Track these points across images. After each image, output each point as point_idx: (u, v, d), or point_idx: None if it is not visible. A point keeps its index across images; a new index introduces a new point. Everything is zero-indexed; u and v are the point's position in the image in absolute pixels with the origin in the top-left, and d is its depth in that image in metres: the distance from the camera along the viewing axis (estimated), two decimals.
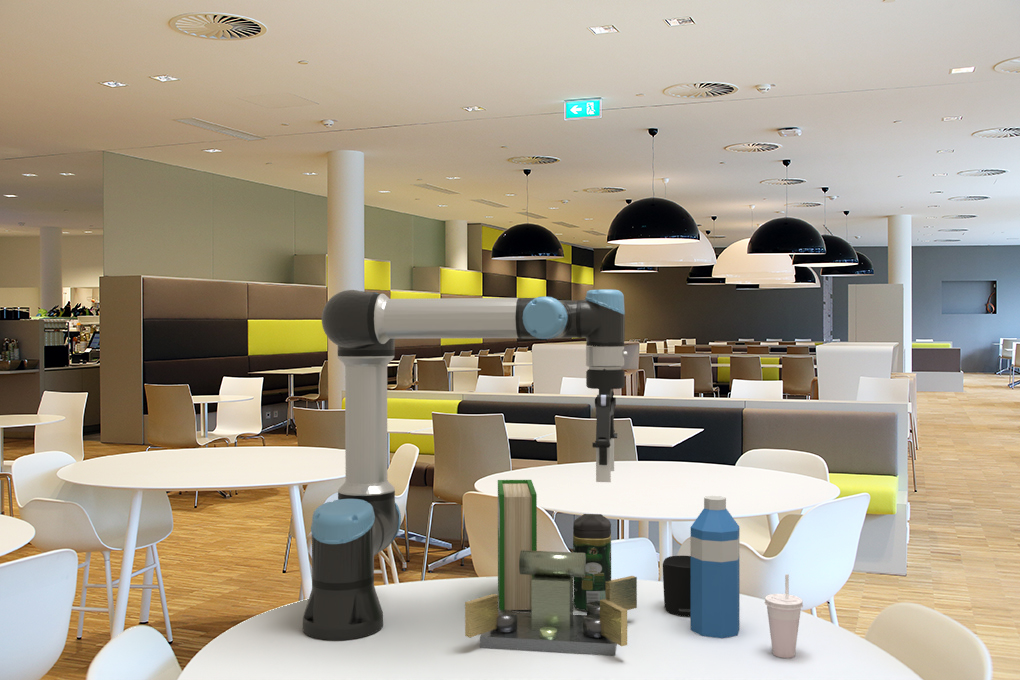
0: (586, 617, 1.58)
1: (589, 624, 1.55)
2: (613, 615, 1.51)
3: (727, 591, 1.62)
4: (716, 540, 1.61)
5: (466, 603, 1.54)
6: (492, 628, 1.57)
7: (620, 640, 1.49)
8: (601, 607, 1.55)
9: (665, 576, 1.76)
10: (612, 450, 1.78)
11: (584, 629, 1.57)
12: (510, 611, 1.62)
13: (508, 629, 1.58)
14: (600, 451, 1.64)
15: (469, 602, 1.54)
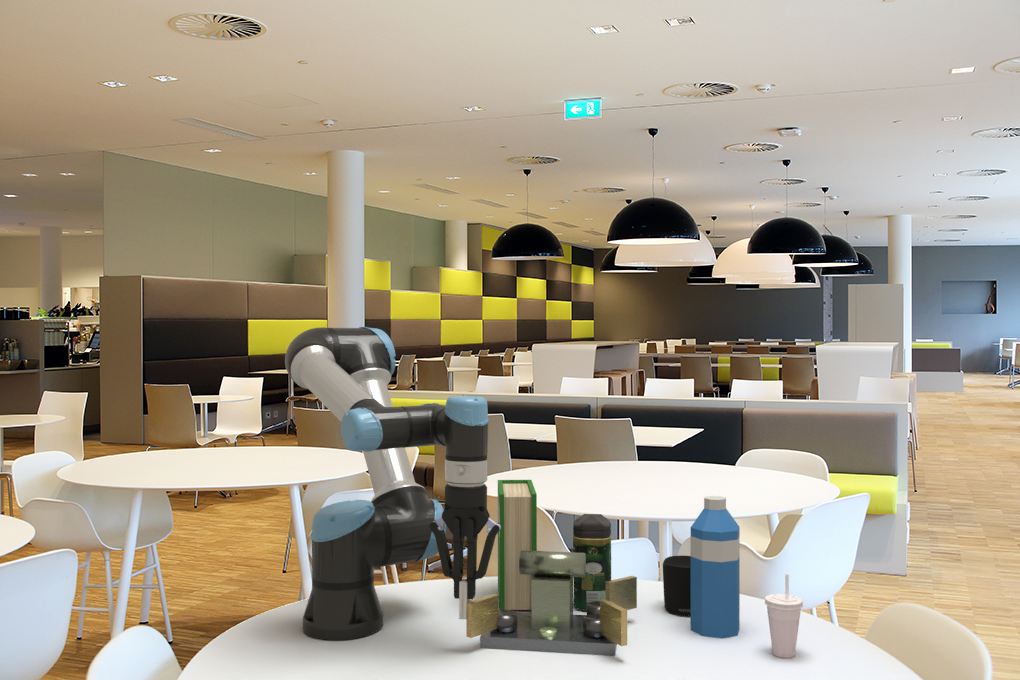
0: (586, 617, 1.58)
1: (589, 624, 1.55)
2: (613, 615, 1.51)
3: (727, 591, 1.62)
4: (716, 540, 1.61)
5: (467, 604, 1.54)
6: (493, 628, 1.57)
7: (620, 640, 1.49)
8: (601, 607, 1.55)
9: (665, 576, 1.76)
10: None
11: (584, 629, 1.57)
12: (510, 611, 1.62)
13: (508, 629, 1.58)
14: None
15: (470, 602, 1.54)
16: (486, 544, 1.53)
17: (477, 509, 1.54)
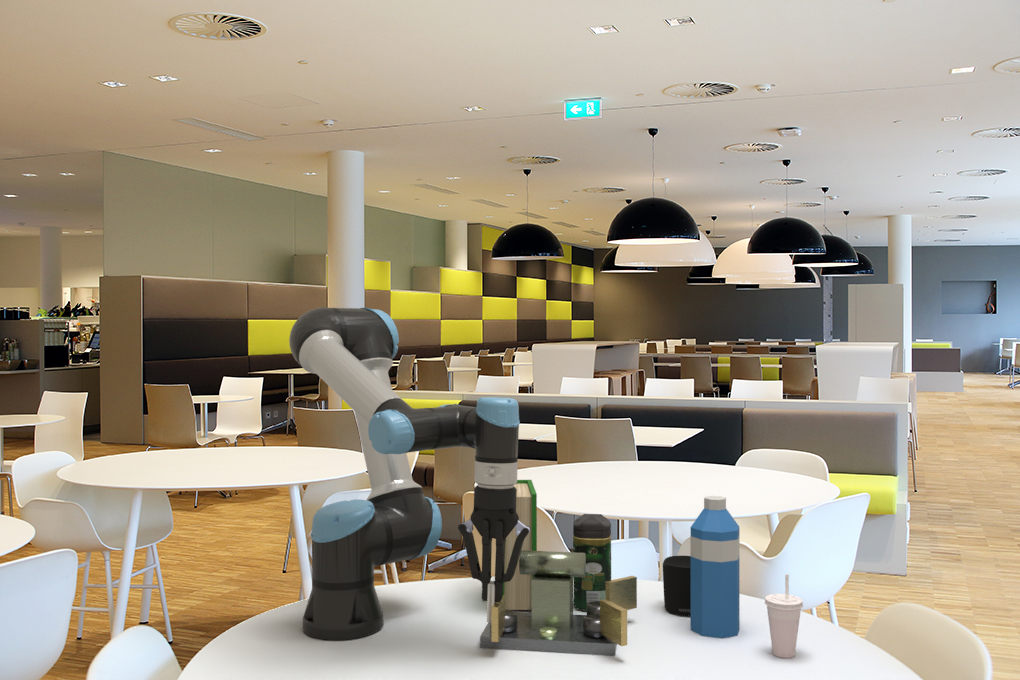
0: (586, 617, 1.58)
1: (589, 624, 1.55)
2: (613, 615, 1.51)
3: (727, 591, 1.62)
4: (716, 540, 1.61)
5: (492, 608, 1.51)
6: (503, 629, 1.57)
7: (620, 640, 1.49)
8: (601, 607, 1.55)
9: (665, 576, 1.76)
10: None
11: (584, 629, 1.57)
12: (505, 610, 1.62)
13: (515, 627, 1.59)
14: None
15: (495, 606, 1.52)
16: (515, 547, 1.52)
17: (507, 511, 1.53)
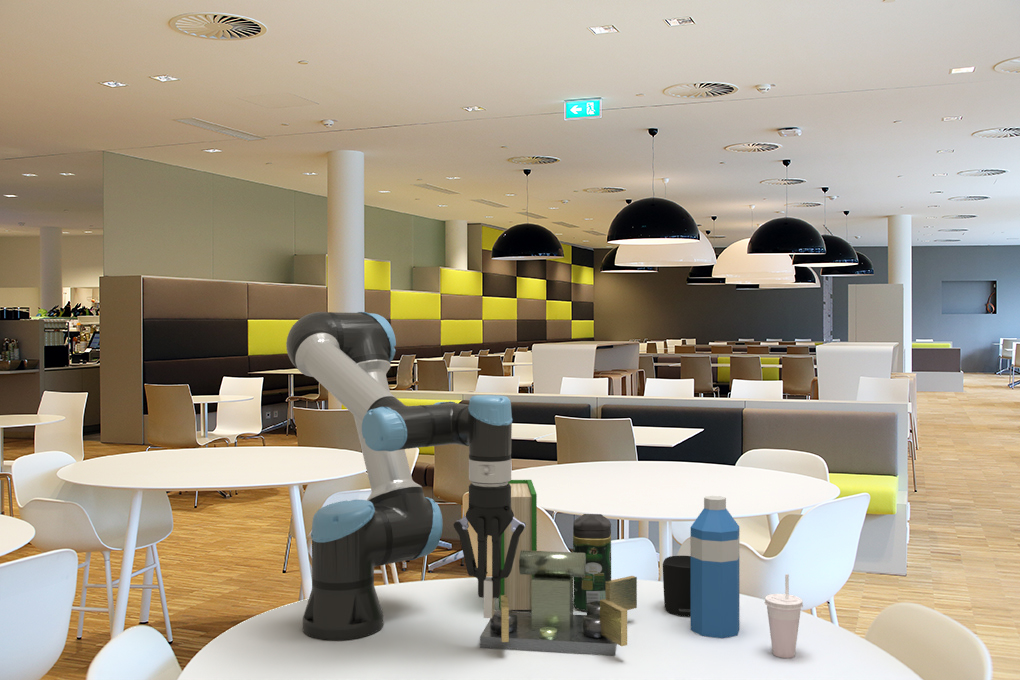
0: (586, 617, 1.58)
1: (589, 624, 1.55)
2: (613, 615, 1.51)
3: (727, 591, 1.62)
4: (716, 540, 1.61)
5: (503, 608, 1.51)
6: None
7: (620, 640, 1.49)
8: (601, 607, 1.55)
9: (665, 576, 1.76)
10: None
11: (584, 629, 1.57)
12: None
13: (516, 626, 1.59)
14: None
15: (505, 606, 1.52)
16: (511, 543, 1.53)
17: (501, 508, 1.54)
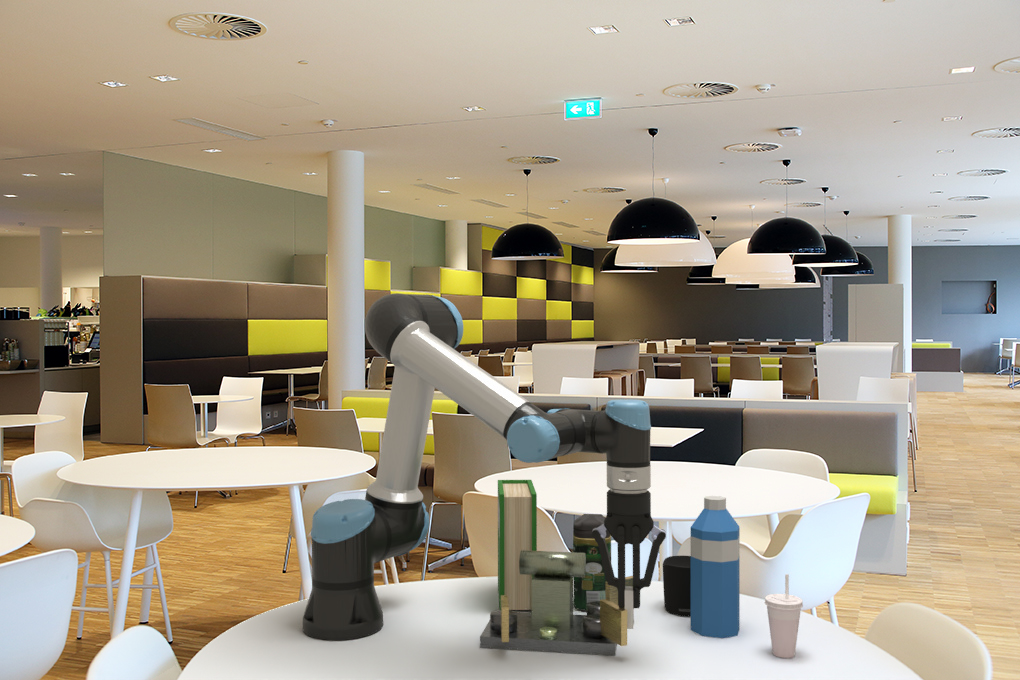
0: (586, 617, 1.58)
1: (589, 624, 1.55)
2: (613, 615, 1.51)
3: (727, 591, 1.62)
4: (716, 540, 1.61)
5: (503, 608, 1.51)
6: None
7: (620, 640, 1.49)
8: (601, 607, 1.55)
9: (665, 576, 1.76)
10: None
11: (584, 629, 1.57)
12: None
13: (516, 626, 1.59)
14: None
15: (505, 606, 1.52)
16: (653, 551, 1.49)
17: (642, 516, 1.49)
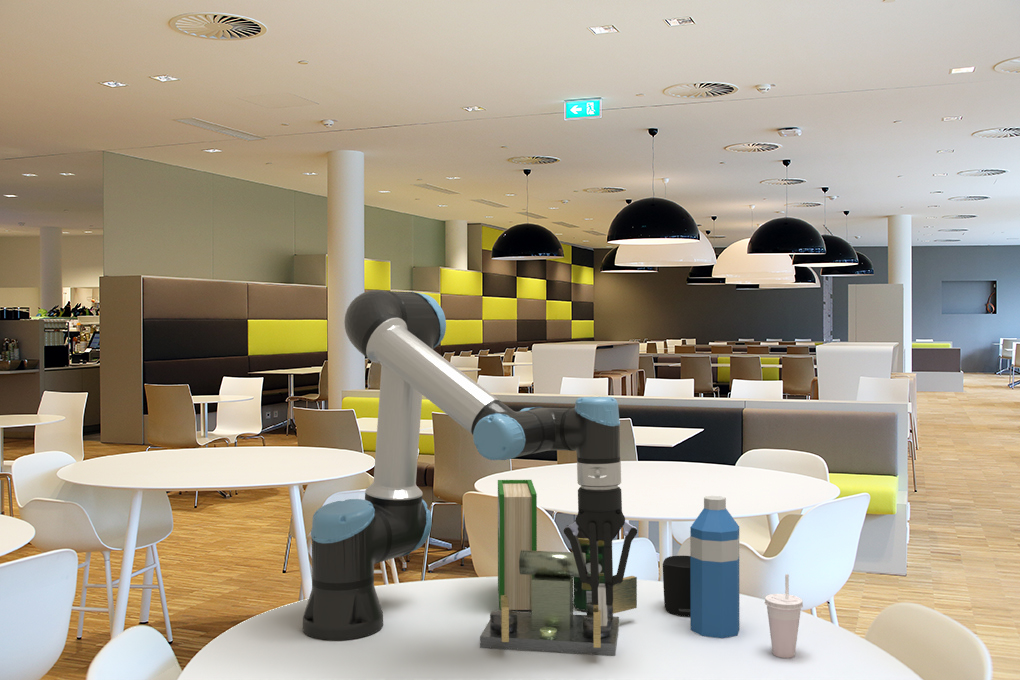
0: (589, 616, 1.59)
1: (584, 622, 1.56)
2: None
3: (727, 591, 1.62)
4: (716, 540, 1.61)
5: (503, 608, 1.51)
6: None
7: None
8: None
9: (665, 576, 1.76)
10: None
11: None
12: None
13: (516, 626, 1.59)
14: None
15: (505, 606, 1.52)
16: (624, 548, 1.49)
17: (613, 512, 1.50)
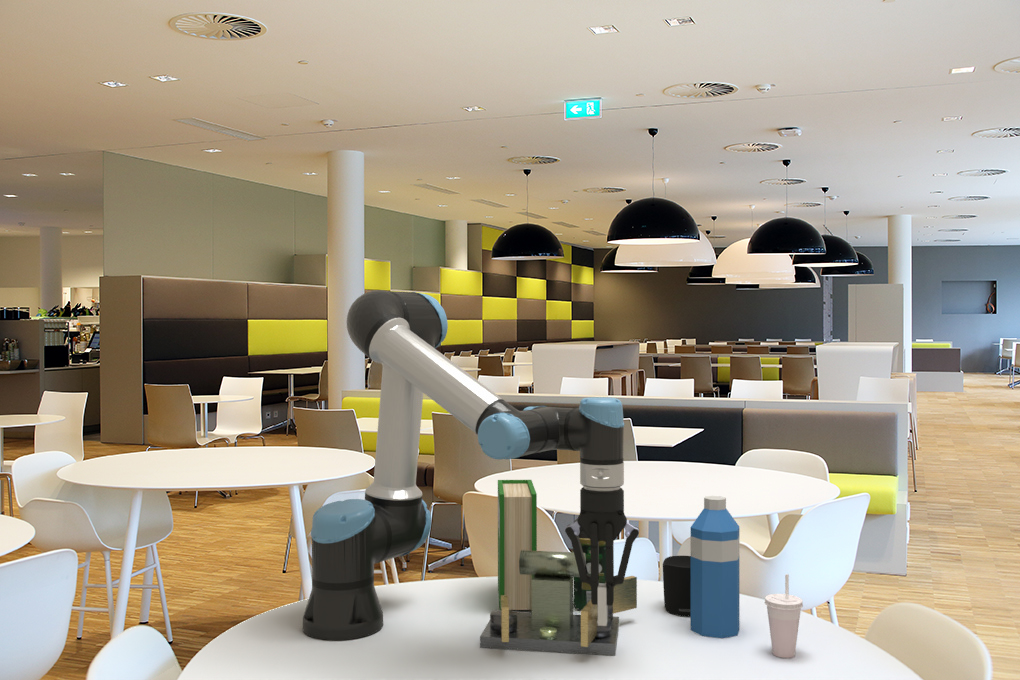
0: None
1: None
2: None
3: (727, 591, 1.62)
4: (716, 540, 1.61)
5: (503, 608, 1.51)
6: None
7: (581, 640, 1.49)
8: None
9: (665, 576, 1.76)
10: None
11: None
12: None
13: (516, 626, 1.59)
14: None
15: (505, 606, 1.52)
16: (626, 549, 1.50)
17: (615, 513, 1.50)
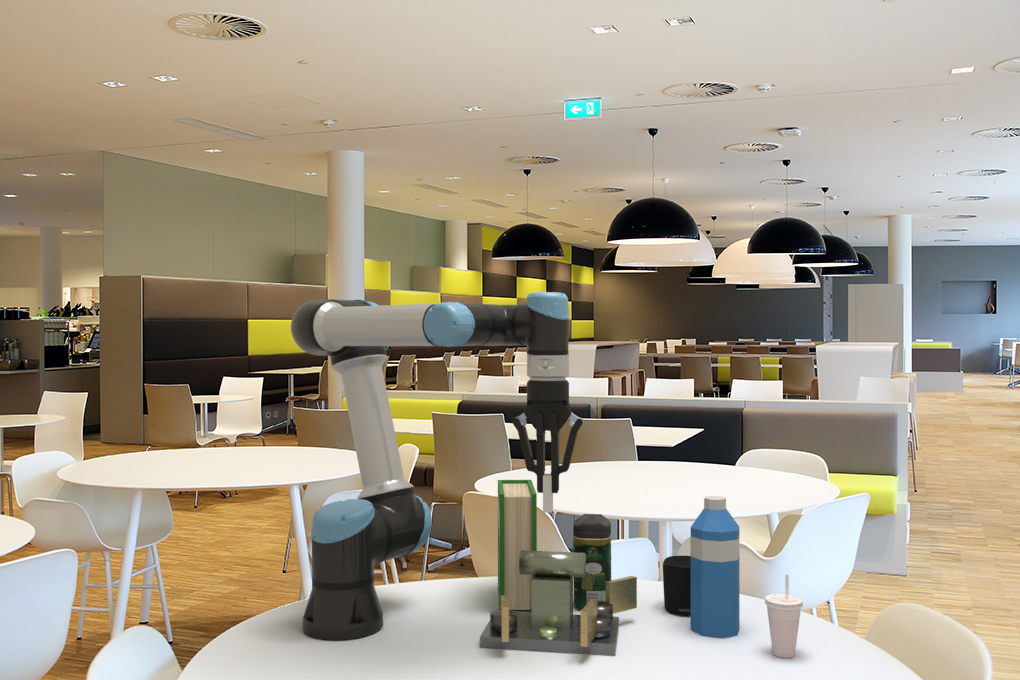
0: None
1: None
2: None
3: (727, 591, 1.62)
4: (716, 540, 1.61)
5: (503, 608, 1.51)
6: None
7: None
8: None
9: (665, 576, 1.76)
10: None
11: None
12: None
13: (516, 626, 1.59)
14: None
15: (505, 606, 1.52)
16: (570, 438, 1.54)
17: (560, 403, 1.55)
